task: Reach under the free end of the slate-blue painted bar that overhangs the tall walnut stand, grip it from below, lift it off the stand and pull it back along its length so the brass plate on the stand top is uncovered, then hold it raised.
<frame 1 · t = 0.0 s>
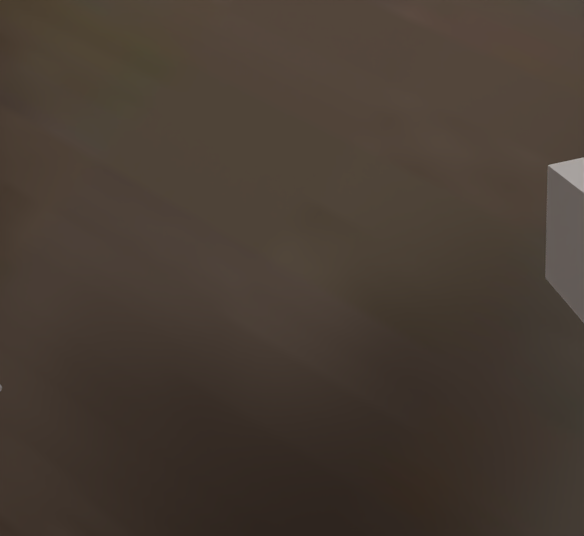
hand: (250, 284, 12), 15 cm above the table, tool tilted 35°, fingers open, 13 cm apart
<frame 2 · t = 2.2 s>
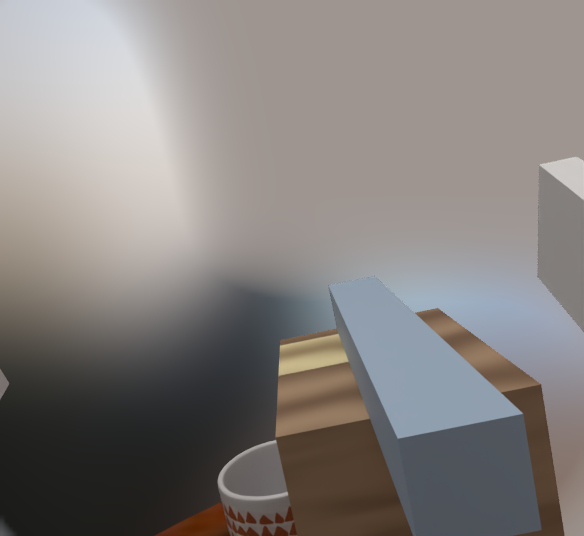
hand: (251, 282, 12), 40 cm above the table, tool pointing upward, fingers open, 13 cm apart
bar: (393, 384, 33), point 30 cm above the table, touching stand
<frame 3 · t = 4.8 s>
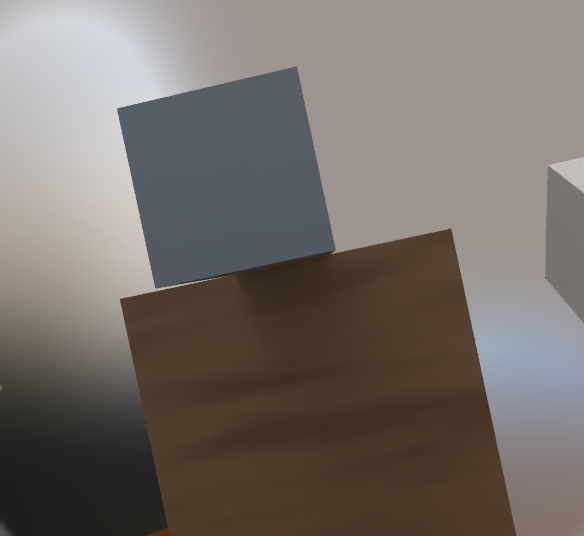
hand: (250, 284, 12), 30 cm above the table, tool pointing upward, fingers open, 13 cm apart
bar: (288, 263, 27), point 30 cm above the table, touching stand
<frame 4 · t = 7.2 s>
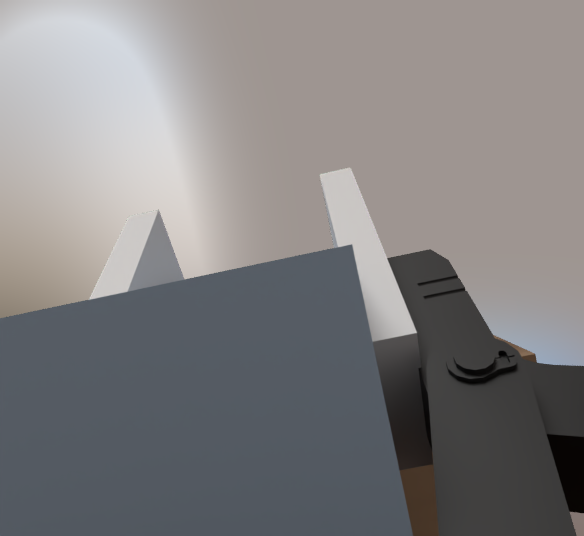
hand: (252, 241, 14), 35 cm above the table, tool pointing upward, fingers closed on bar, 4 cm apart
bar: (301, 372, 20), point 30 cm above the table, touching gripper, stand
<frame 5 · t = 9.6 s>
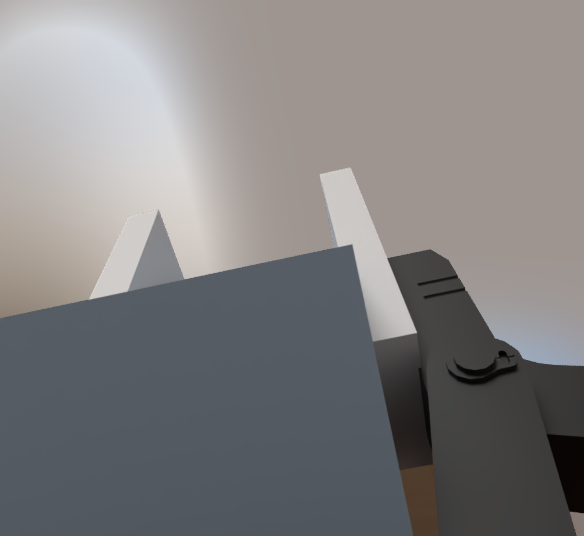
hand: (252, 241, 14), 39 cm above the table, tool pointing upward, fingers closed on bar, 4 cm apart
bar: (301, 372, 20), point 34 cm above the table, touching gripper
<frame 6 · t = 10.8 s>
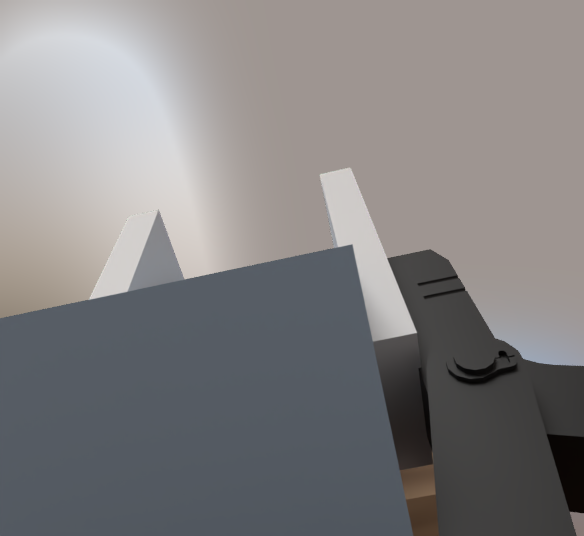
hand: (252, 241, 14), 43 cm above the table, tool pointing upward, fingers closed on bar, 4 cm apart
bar: (301, 372, 20), point 38 cm above the table, touching gripper
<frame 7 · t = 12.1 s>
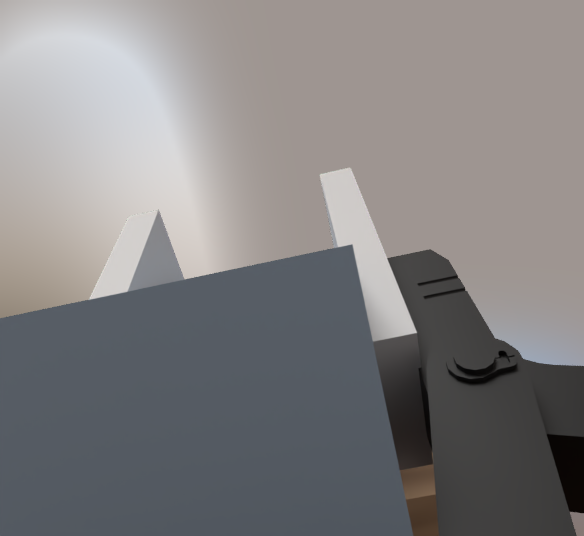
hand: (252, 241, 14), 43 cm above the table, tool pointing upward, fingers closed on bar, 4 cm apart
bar: (301, 372, 20), point 38 cm above the table, touching gripper
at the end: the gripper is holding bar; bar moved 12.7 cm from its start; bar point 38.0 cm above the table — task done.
